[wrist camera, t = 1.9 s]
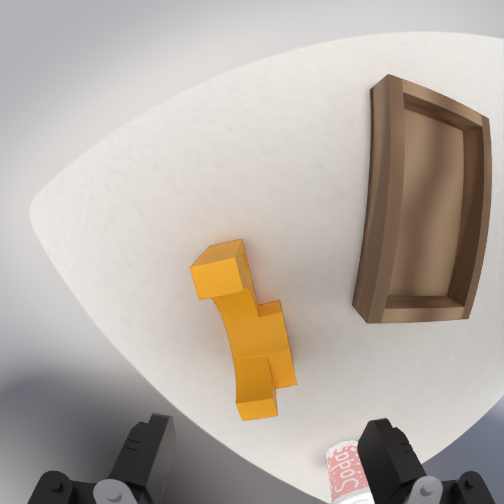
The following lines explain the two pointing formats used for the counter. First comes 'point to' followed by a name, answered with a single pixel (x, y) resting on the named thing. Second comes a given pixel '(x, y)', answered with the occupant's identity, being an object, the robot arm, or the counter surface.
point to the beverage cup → (347, 475)
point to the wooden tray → (423, 206)
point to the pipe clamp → (247, 328)
